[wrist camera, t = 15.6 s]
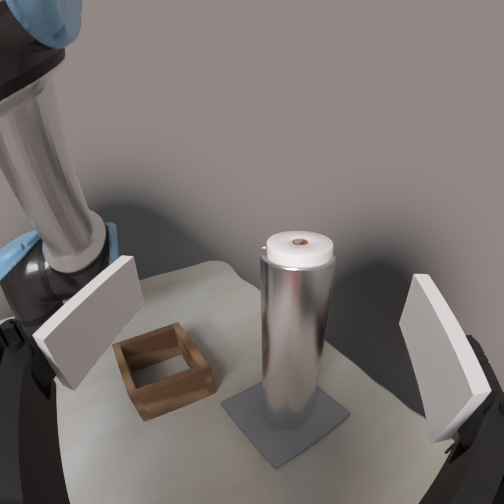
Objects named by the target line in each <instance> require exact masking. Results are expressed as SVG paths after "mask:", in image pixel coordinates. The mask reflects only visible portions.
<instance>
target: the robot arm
mask: <svg viewBox="0 0 504 504" xmlns="http://www.w3.org/2000/svg"><path fill="white" fill-rule="evenodd" d="M81 11H82V0H0V168H1V170H2V172H3V174H4V176H5V178H6V180H7V182H8V184H9V186H10V188H11V189H12V191H13V193H14V195H15V197H16V199H17V200H18V202H19V204H20V206H21V207H22V209H23V211H24V212H25V214H26V216H27V217H28V219H29V220H30V222H31V223H32V225H33V227H34V228H35V230H36V231H35V230H34V231H31V232H28V233H26V234H24V235H22V236H20V237H18V238H16V239H15V240H13V241H11V242H10V243H8V244H7V245H6V246H4V247H3V248H2V249H1V250H0V285H1V287H2V290H3V292H4V294H5V297H6V299H7V301H8V304H9V306H10V308H11V310H12V312H13V315H14V317H15V319H9V320H7V321H5V322H3V323H2V324H1V325H0V504H70V502H69V498H68V493H67V489H66V484H65V479H64V474H63V468H62V462H61V455H60V447H59V437H58V426H57V408H56V383H55V381H54V380H53V379H54V378H55V376H57V377H58V379H59V380H60V382H61V383H62V384H63V385H64V386H66V387H68V388H70V389H72V390H74V391H75V390H76V388H77V387H78V386H79V384H80V383H81V382H82V380H83V379H84V378H85V376H86V375H87V374H88V372H89V371H90V370H91V368H92V367H93V366H94V364H95V363H96V362H97V361H98V359H99V358H100V357H101V355H102V354H103V353H104V352H105V350H106V349H107V348H108V347H109V345H110V344H111V343H112V342H113V340H114V339H115V338H116V337H117V335H118V334H119V333H120V332H121V330H122V329H123V328H124V327H125V325H126V324H127V323H128V322H129V321H130V319H131V318H132V317H133V316H134V315H135V313H136V312H137V311H138V310H139V309H140V307H141V306H142V305H143V304H144V303H145V301H144V297H143V294H142V290H141V286H140V282H139V278H138V274H137V270H136V265H135V261H134V257H133V256H121V257H119V250H118V242H117V232H116V225H115V224H114V223H108V222H105V223H103V221H102V219H101V217H100V216H99V215H97V214H96V213H95V212H93V211H91V210H89V209H88V207H87V204H86V201H85V198H84V196H83V193H82V190H81V187H80V184H79V181H78V178H77V175H76V172H75V169H74V166H73V162H72V159H71V155H70V152H69V149H68V145H67V141H66V137H65V133H64V129H63V125H62V121H61V117H60V113H59V107H58V102H57V97H56V92H55V86H54V79H53V77H54V76H55V74H56V72H57V71H58V70H59V68H60V67H61V65H62V64H63V63H64V61H65V47H67V46H68V45H69V44H70V43H72V42H74V41H75V40H76V38H77V37H78V35H79V32H80V27H81ZM67 298H71V299H70V300H69V301H68V302H67V303H65V304H64V303H63V301H62V300H63V299H67ZM399 325H400V327H401V330H402V333H403V336H404V339H405V342H406V345H407V348H408V351H409V355H410V358H411V361H412V365H413V368H414V371H415V375H416V378H417V382H418V386H419V390H420V393H421V397H422V401H423V406H424V409H425V414H426V419H427V423H428V428H429V433H430V439H431V443H434V442H439V441H444V440H448V439H450V438H451V437H452V436H453V435H454V434H455V433H456V432H457V431H458V433H459V439H457V440H456V441H455V442H454V443H453V444H452V445H451V446H450V447H449V448H448V449H447V450H446V451H445V453H446V454H447V453H448V452H449V451H450V450H451V452H450V454H449V456H448V457H447V459H446V461H445V463H444V465H443V466H442V468H441V470H440V472H439V473H438V475H437V477H436V478H435V480H434V481H433V483H432V485H431V486H430V488H429V489H428V491H427V492H426V494H425V495H424V497H423V498H422V500H421V501H420V502H419V504H504V393H503V391H502V389H501V387H500V385H499V382H498V380H497V378H496V376H495V374H494V372H493V369H492V367H491V365H490V363H488V359H487V357H486V355H484V352H483V350H482V348H481V346H480V344H479V343H478V342H477V341H476V340H475V339H474V338H473V337H472V336H471V335H465V334H464V332H463V331H462V329H461V327H460V325H459V323H458V322H457V320H456V318H455V316H454V315H453V313H452V311H451V310H450V308H449V306H448V305H447V303H446V301H445V300H444V298H443V296H442V295H441V293H440V292H439V290H438V289H437V287H436V286H435V284H434V283H433V281H432V279H431V278H430V277H429V275H428V274H414V275H413V279H412V283H411V286H410V290H409V293H408V297H407V300H406V303H405V307H404V310H403V313H402V316H401V320H400V322H399Z"/></svg>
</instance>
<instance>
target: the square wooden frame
mask: <svg viewBox="0 0 504 504" xmlns="http://www.w3.org/2000/svg"><path fill="white" fill-rule="evenodd" d="M112 345H113V349H114V352H115V356H116V359H117V362H118V365H119V369H120V372H121V375H122V378H123V381H124V383H125V386H126V389H127V392H128V395H129V397H130V399H131V401H132V403H133V404H134V406H135V408H136V410H137V411H138V413H139V414H140V416H141V418H142V419H143V421H147V420H150V419H152V418H155V417H158V416H161V415H163V414H166V413H168V412H171V411H174V410H176V409H179V408H181V407H183V406H186V405H188V404H191V403H193V402H195V401H198V400H200V399H202V398H205V397H207V396H209V395H211V394H214V393H216V390H215V385H214V381H213V376H212V371H211V367H210V365H209V364H208V363H207V362H206V360H205V359H204V358H203V356H202V355H201V353H200V352H199V351H198V349H197V348H196V347H195V345H194V344H193V342H192V341H191V340H190V338H189V337H188V335H187V334H186V333H185V331H184V330H183V328H182V327H181V325H180V324H179V323H178V322H177V323H174V324H171V325H169V326H166V327H163V328H160V329H157V330H154V331H151V332H148V333H146V334H143V335H140V336H137V337H134V338H131V339H128V340H125V341H122V342H119V343H115V344H112ZM180 354H181V355H182V356H183V358H184V359H185V361H186V363H187V364H188V366H189V367H190V369H188V370H185V371H183V372H180V373H178V374H175V375H173V376H170V377H167V378H165V379H162V380H159V381H157V382H154V383H151V384H148V385H146V386H143V387H140V388H138V387H137V385H136V383H135V380H134V377H133V375H132V372H133V371H136V370H139V369H142V368H145V367H147V366H150V365H153V364H156V363H158V362H161V361H164V360H167V359H169V358H172V357H175V356H177V355H180Z"/></svg>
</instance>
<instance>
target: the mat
mask: <svg viewBox="0 0 504 504" xmlns="http://www.w3.org/2000/svg"><path fill="white" fill-rule="evenodd" d="M221 405H222V406H223V408H224V409H225V410H226V411H227V413H228V414H229V415H230V417H231V418H232V419H233V420H234V422H235V423H236V424H237V425H238V426H239V428H240V429H241V430H242V431H243V433H244V434H245V435H246V436H247V437H248V439H249V440H250V441H251V442H252V443H253V444H254V446H255V447H256V448H257V449H258V450H259V451H260V452H261V454H262V455H263V456H264V457H265V458H266V459H267V460H268V461H269V462H270V463H271V465H272V466H273V467H274V468H275V469H277V468H279V467H280V466H282V465H283V464H285V463H286V462H288V461H290V460H291V459H293V458H294V457H296V456H297V455H299V454H300V453H302V452H303V451H304V450H306V449H307V448H309V447H310V446H311V445H313V444H314V443H316V442H317V441H318V440H320V439H321V438H322V437H324V436H325V435H326V434H328V433H329V432H330V431H331V430H333V429H334V428H335V427H336V426H338V425H339V424H340V423H341V422H342V421H344V420H345V419H346V418H347V417H348V416H350V414H351V413H350V412H348V411H347V410H346V409H345V408H343V407H342V406H341V405H340V404H338V403H337V402H336V401H334V400H333V399H332V398H331V397H329V396H328V395H327V394H326V393H325V392H323V391H322V390H321V389H320V388H318V387H317V386H316V387H315V392H314V396H313V401H312V405H311V409H310V414H309V417H308V419H307V421H306V422H305V423H304V424H303V425H301V426H300V427H298V428H295V429H292V430H279V429H276V428H274V427H272V426H270V425H269V424H268V423H267V422H266V421H265V419H264V417H263V411H262V409H263V387H262V382H261V383H259V384H257V385H255V386H253V387H251V388H249V389H247V390H245V391H243V392H241V393H239V394H237V395H235V396H233V397H231V398H229V399H227V400H225V401H223V402H221Z"/></svg>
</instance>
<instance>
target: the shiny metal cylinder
mask: <svg viewBox="0 0 504 504" xmlns="http://www.w3.org/2000/svg"><path fill="white" fill-rule="evenodd" d="M332 255H333V242H332V241H331V240H330V239H329V238H328V237H326V236H324V235H321V234H318V233H313V232H308V231H288V232H281V233H278V234H275V235H273V236H271V237H270V238H269V239H268V240H267V244H266V245H265V246H264V247H262V256H260V269H261V320H262V387H263V409H262V411H263V417H264V419H265V421H266V422H267V423H268V424H269V425H270V426H272V427H274V428H276V429H279V430H292V429H295V428H298V427H300V426H301V425H303V424H304V423H305V422H306V421H307V419H308V417H309V414H310V409H311V405H312V401H313V396H314V392H315V387H316V382H317V378H318V373H319V368H320V362H321V357H322V352H323V346H324V340H325V334H326V328H327V322H328V315H329V308H330V301H331V293H332V286H333V278H334V269H335V259H336V257H335V256H332Z"/></svg>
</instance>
